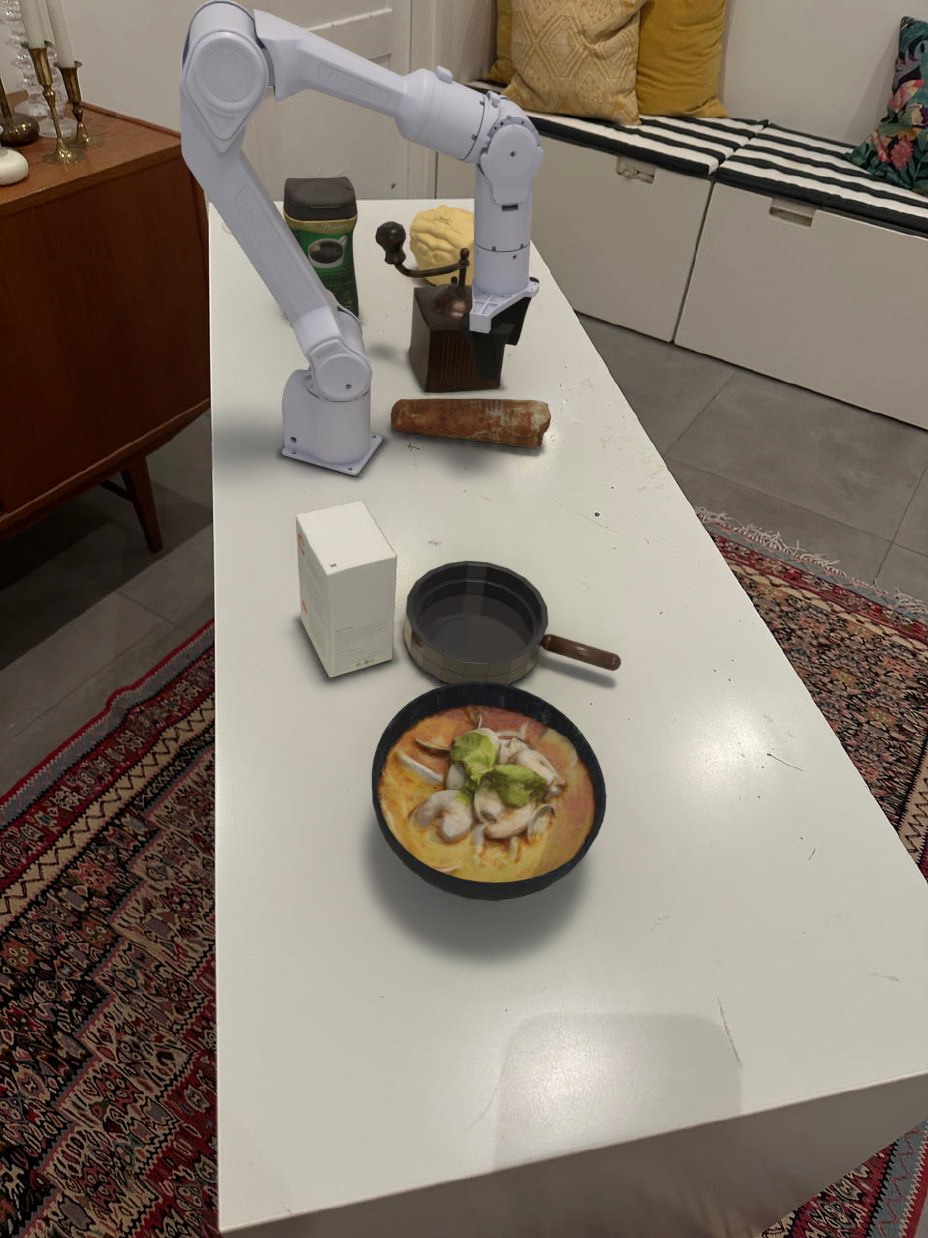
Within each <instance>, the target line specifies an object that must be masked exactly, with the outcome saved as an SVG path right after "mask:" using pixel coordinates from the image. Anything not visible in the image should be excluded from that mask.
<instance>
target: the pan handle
mask: <svg viewBox="0 0 928 1238" xmlns="http://www.w3.org/2000/svg"><path fill="white" fill-rule="evenodd" d="M542 647H543V648H542V650H544V651H546V652H549V653H553V654H556V655H560V656H562V657H566V658H569V659H571V660H575V661H578V662H582V663H585V664H587V665H591V666H595V667H597V668H601V669H604V670H607V671H611V672H613V671H617V670H618V669H620V668H621V665H622V659H621V657H620V656H619V654H617V653H615V652H611V651H607V650H604V649H602V648H598V647H595V646H592V645H588V644H585V643H582V642H580V641H576V640H572V639H569V638H566V637H562V636H558V635H556V634H554V633H553V634H552V633H546V635H545V636H544V639H543V642H542Z"/></svg>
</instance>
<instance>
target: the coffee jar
mask: <svg viewBox="0 0 928 1238" xmlns="http://www.w3.org/2000/svg"><path fill="white" fill-rule="evenodd" d="M354 188H355V187H354V185H353V183H352V182H351V180H350V178H348V177H347V176H345V175H344V176H338V177H337V176H336V177H299V178H297V177H287V178H286V179H285V181H284V189H283V205H282V214H283V218H284V220H285V222H286V223H287V225H288V227H289V228H290V230H291V232H292V234H293V235H294V237H295V239H296V240H297V242H298V244H299V245H300V247H301V249H302V250H303V252H304V254H305V255H306V257H307V259H308V260H309V262H310V264H311V265H312V267H313V269H314V270H315V272H316V274H317V275H318V277H319V279H320V280H321V282H322V284H323V285H324V287H325V288H326V289H327V290H329V291H330V292H332V294H333V295H334V297H335V298H336V300H337V301H338V303H339V304H340V305H341V306H342V307H344V308H345V309H347V310H349V311H350V312H352V313H353V314H354V315H355V316H356V317H357V319H358V320H359V316H360V307H359V306H360V305H359V294H358V293H359V292H358V286H357V276H356V270H355V257H354V232H355V228H356V225H357V223H358V218H359V211H358V203H357V197H356V191H355V189H354Z"/></svg>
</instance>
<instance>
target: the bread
mask: <svg viewBox="0 0 928 1238" xmlns="http://www.w3.org/2000/svg"><path fill="white" fill-rule="evenodd" d="M551 420H552V413H551V412H550V409H549V404H548V403H547V402H545V401H542V400H535V399H513V398H512V399H511V398H510V399H509V398H479V397H478V398H473V397H471V398H439V397H438V398H433V397H432V398H400V399H398V400H396V401H395V403H394V404H393V405H392V407H391V411H390V425H391V427H392V428H393V429H394V430H395V431H397V432H400V433H409V434H417V435H425V436H431V437H437V438H444V439H445V438H447V439H453V440H455V439H458V440H465V441H474V442H485V443H491V444H500V445H506V446H514V447H523V448H542V446H543V441H544V436H545V433H547V432H548V430H549V429H550V426H551Z"/></svg>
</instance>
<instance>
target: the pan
mask: <svg viewBox="0 0 928 1238" xmlns="http://www.w3.org/2000/svg"><path fill="white" fill-rule="evenodd" d="M546 603H547V602H545V600H544V598H543V596H542V594H541V591H539V590H538V588H536V587H535V585H533V584H532V582H531V581H530V580H528V579H527V578H526V577H525V576H523V575H521V574H519V573H518V572H516V571H514V570H513V569H511V568H508V567H507V566H506V567H505V566H502V565H499V564H496V563H492V562H490V561H489V562H488V561H479V560H478V561H477V560H461V561H455V562H453V561H452V562H446V563H444V564H442V565H439V566H437V567H434V568H432V569H430V570H427V572H425V573H424V574H423V575H422V576H421V577H419V578H418V579H416V580H415V581H414V584H413V585H412V587H411V589H410V590H409V592H408V595H407V597H406V605H405V617H404V618H405V620H404V633H403V637H404V641H405V644H406V647H407V650H408V653H409V654H410V656H411V657H412V658H413V659H414V661H415V662H416V663H417V664H418V666H419V667H420V668H421V669H422V670H424V671H425V672H426V673H428V674H429V675H431V676H432V677H434V678H436V679H438V680H439V681H441V682H443V683H447V684H449V685H451V684H456V683H462V682H471V681H482V682H494V683H501V684H505V685H509V684H511V683H513V682H515V681H517V680H519V679H521V678H523V677H525V676H526V675H527V674H528V673H529V672H530V671H531V669H533V668H534V667H535V665H536V664H537V663H538V661H539V659H540V656H541V653H542V650H543V647H542V642H543V639H544V636H545V635H546V634H547V631H548V628H549V627H548V626H549V612H548V605H547V604H546Z"/></svg>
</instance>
